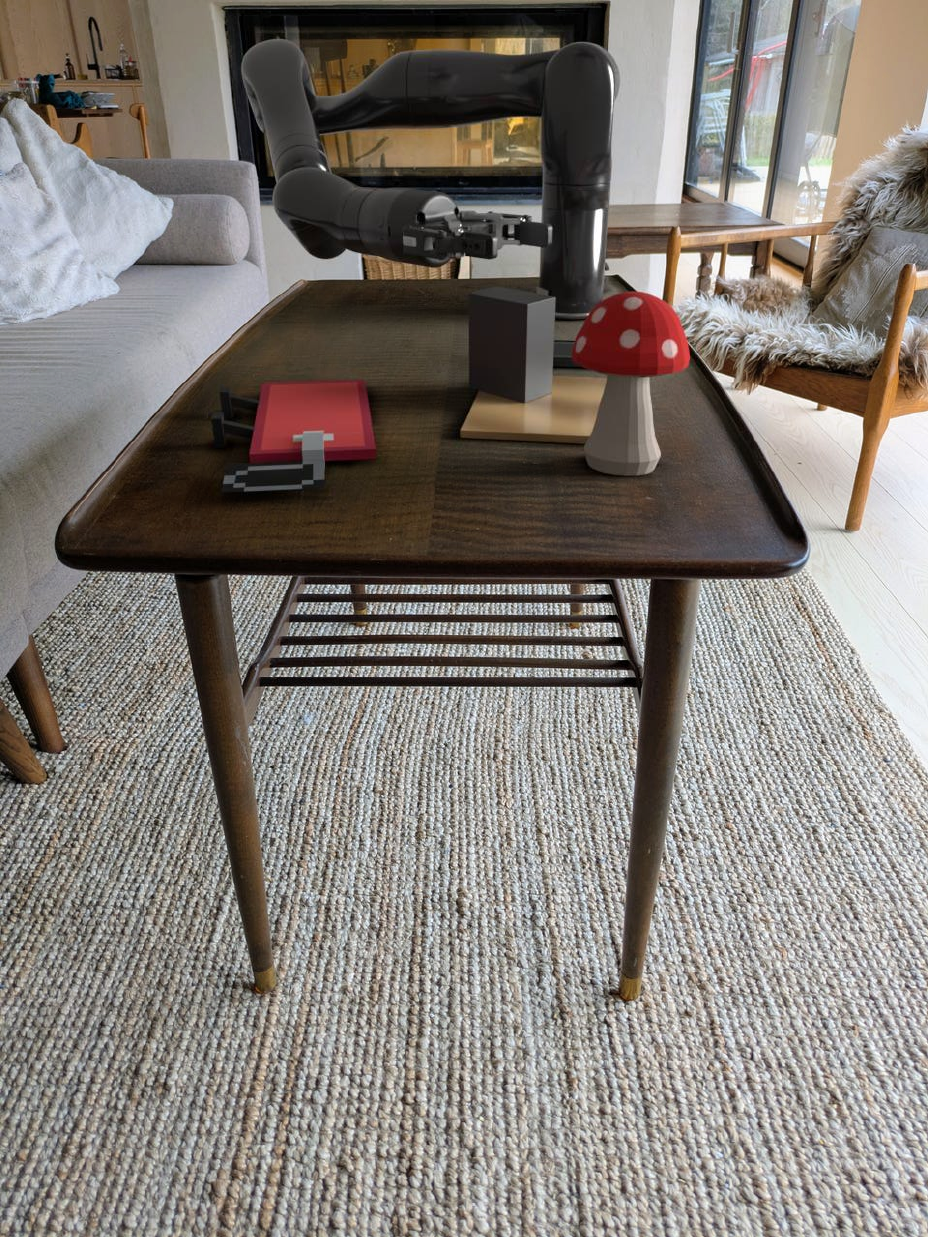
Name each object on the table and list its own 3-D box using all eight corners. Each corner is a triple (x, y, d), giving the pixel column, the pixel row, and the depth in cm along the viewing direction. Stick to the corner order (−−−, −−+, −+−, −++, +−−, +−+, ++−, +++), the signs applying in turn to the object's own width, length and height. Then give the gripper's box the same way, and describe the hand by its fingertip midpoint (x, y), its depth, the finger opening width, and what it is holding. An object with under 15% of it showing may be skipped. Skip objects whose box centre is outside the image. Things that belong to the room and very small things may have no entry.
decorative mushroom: (554, 475, 79) (562, 299, 72) (578, 442, 86) (588, 278, 79) (668, 490, 76) (689, 307, 69) (683, 455, 83) (704, 285, 76)
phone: (532, 339, 114) (653, 342, 112) (532, 348, 115) (652, 351, 113) (527, 356, 108) (655, 359, 106) (527, 365, 108) (654, 369, 106)
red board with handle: (198, 504, 74) (381, 495, 76) (193, 471, 73) (380, 463, 75) (229, 396, 100) (365, 391, 102) (226, 370, 98) (364, 366, 100)
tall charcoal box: (468, 387, 99) (468, 292, 94) (496, 378, 102) (497, 285, 96) (524, 403, 94) (527, 304, 89) (552, 393, 97) (556, 296, 92)
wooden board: (487, 380, 104) (487, 373, 103) (636, 385, 101) (637, 378, 101) (460, 437, 88) (460, 430, 87) (637, 446, 85) (638, 438, 85)
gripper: (454, 253, 105) (565, 270, 96) (363, 272, 96) (475, 293, 87) (453, 182, 101) (568, 192, 92) (357, 195, 92) (474, 207, 83)
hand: (523, 241), depth 89 cm, fingers open, 8 cm apart
